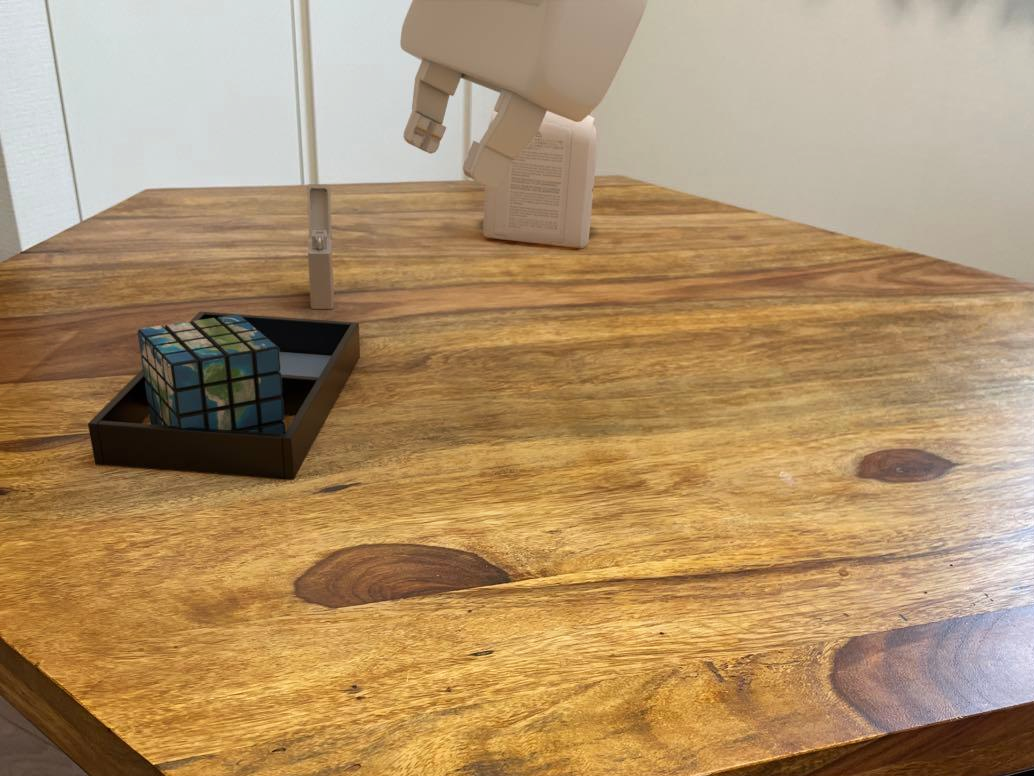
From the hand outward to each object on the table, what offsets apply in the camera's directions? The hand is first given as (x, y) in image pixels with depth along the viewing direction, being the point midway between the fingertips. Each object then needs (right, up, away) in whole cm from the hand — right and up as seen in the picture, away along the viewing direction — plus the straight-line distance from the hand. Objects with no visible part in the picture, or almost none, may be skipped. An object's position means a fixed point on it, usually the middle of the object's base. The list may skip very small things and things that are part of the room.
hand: (446, 164), depth 60 cm
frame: (-13, -13, +7) cm, 19 cm away
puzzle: (-14, -15, +2) cm, 20 cm away
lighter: (-12, -2, +26) cm, 28 cm away
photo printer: (+5, +7, +43) cm, 44 cm away
